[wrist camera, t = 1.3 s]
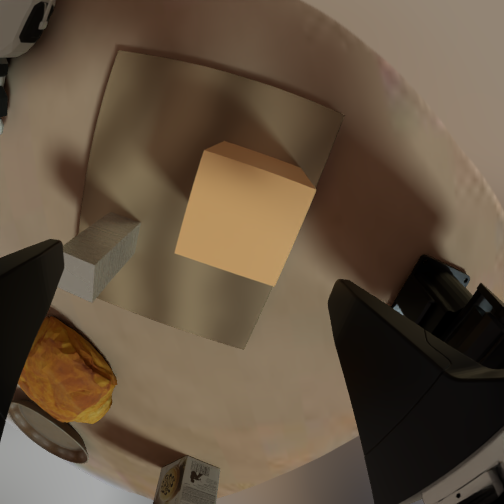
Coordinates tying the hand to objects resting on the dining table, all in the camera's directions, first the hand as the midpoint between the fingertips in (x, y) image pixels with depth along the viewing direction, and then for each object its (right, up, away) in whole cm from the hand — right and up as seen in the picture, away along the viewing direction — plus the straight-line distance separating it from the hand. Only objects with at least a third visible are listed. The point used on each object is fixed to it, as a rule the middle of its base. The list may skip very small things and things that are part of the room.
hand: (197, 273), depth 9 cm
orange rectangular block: (+1, +5, +11) cm, 12 cm away
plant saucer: (-35, -31, +30) cm, 55 cm away
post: (-8, +2, +12) cm, 15 cm away
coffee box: (-8, -34, +30) cm, 46 cm away
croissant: (-20, -12, +21) cm, 32 cm away
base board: (-3, +4, +13) cm, 14 cm away
